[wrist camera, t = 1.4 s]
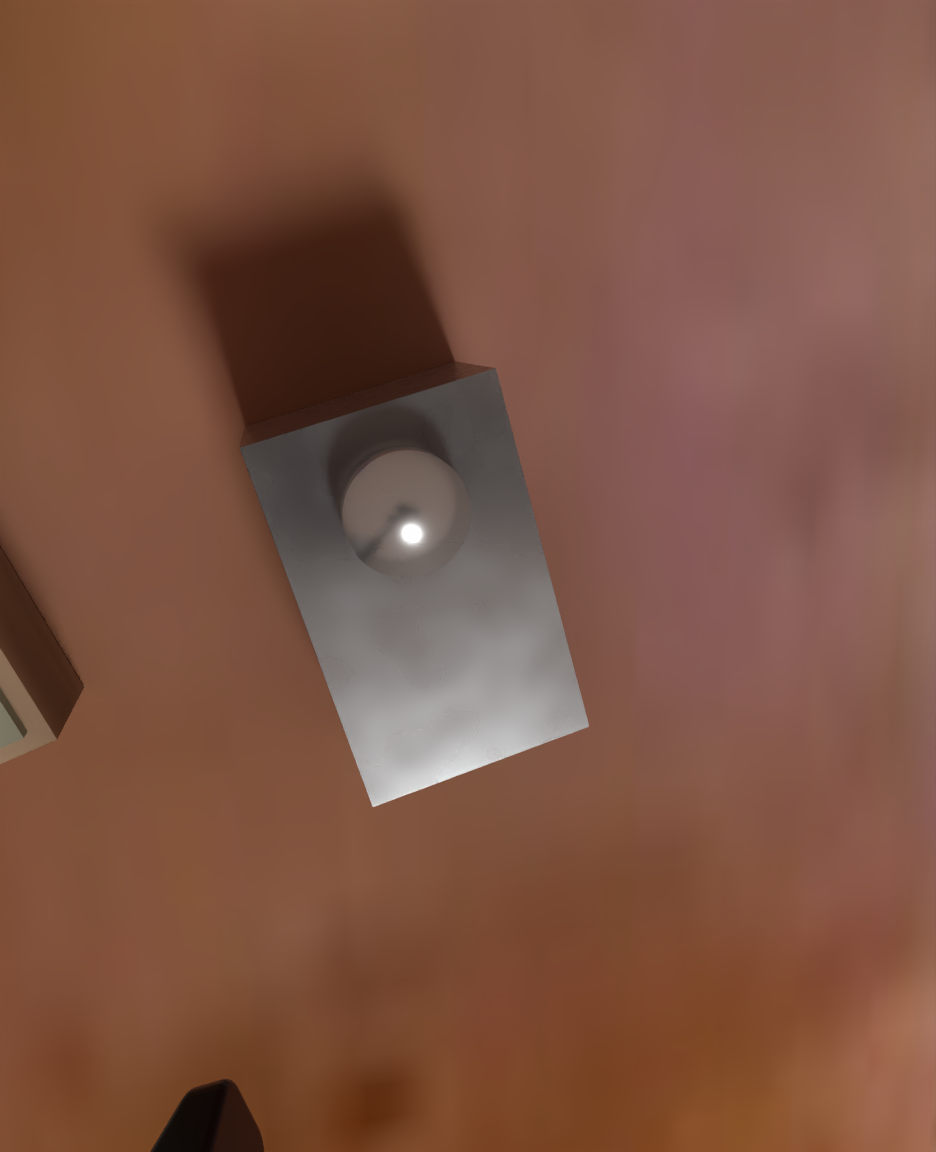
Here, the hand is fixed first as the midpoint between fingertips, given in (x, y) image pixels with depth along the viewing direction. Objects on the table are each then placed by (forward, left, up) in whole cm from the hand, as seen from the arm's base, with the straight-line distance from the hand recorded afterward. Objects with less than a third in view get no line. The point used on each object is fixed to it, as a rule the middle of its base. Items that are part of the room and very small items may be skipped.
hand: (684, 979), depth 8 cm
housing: (0, +1, -14) cm, 14 cm away
